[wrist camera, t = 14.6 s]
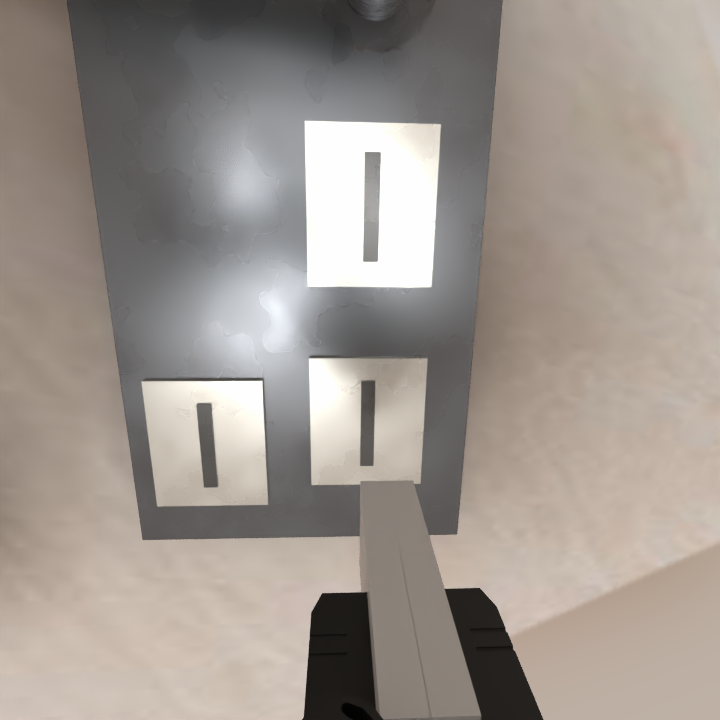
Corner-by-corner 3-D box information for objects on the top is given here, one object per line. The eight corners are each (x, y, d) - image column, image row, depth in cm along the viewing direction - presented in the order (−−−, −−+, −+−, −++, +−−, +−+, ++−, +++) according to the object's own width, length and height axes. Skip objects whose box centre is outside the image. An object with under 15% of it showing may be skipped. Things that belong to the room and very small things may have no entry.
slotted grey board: (74, -65, 16) (47, -96, 15) (496, -47, 17) (512, -75, 15) (152, 523, 23) (139, 545, 21) (451, 519, 23) (459, 539, 22)
